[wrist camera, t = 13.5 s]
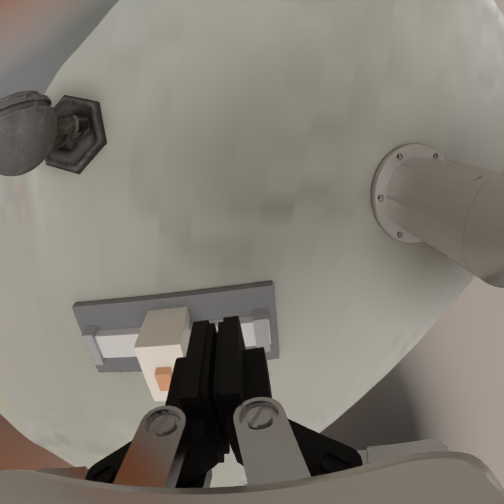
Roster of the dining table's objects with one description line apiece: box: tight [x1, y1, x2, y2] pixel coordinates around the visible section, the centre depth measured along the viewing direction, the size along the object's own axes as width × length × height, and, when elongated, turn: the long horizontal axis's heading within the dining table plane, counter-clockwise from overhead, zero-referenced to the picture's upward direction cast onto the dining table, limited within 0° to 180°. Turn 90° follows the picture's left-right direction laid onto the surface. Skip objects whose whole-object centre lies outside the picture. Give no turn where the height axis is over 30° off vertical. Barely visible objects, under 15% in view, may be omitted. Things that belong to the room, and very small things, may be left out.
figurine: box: [0, 91, 107, 176], centre depth 24 cm, size 9×10×15 cm
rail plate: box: [72, 281, 279, 372], centre depth 39 cm, size 26×11×3 cm, turn 96°
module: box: [134, 307, 191, 401], centre depth 35 cm, size 5×8×9 cm, turn 6°
